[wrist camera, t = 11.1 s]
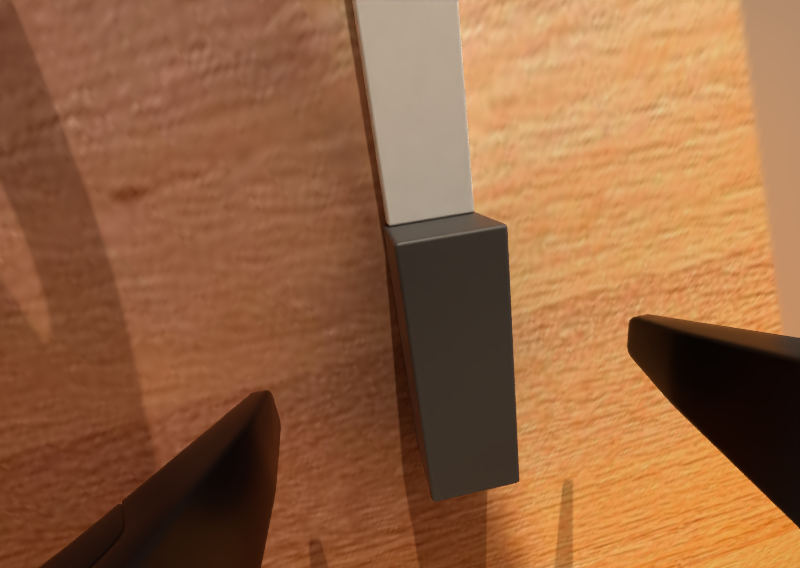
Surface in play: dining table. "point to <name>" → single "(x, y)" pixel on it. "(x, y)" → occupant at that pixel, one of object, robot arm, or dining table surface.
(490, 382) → the two-tone stick
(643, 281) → the dining table surface
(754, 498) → the dining table surface
